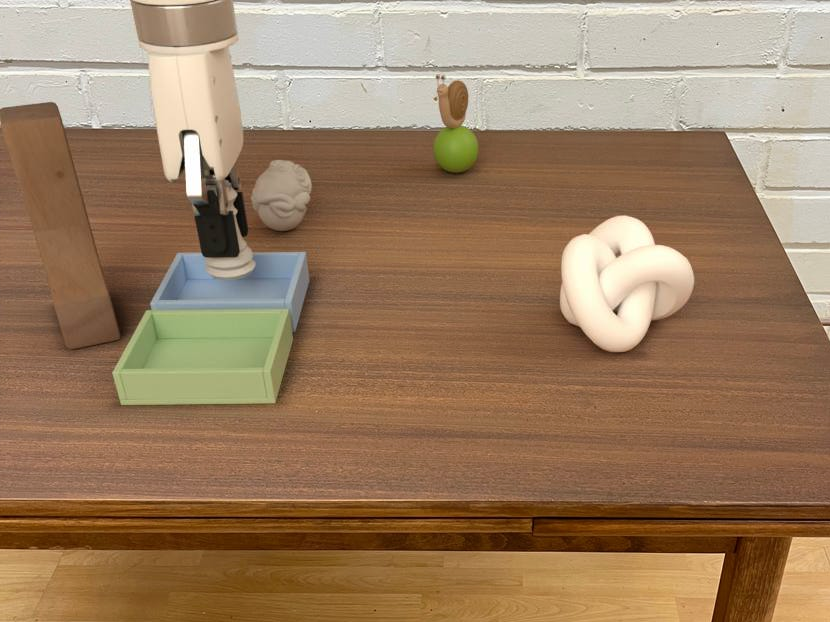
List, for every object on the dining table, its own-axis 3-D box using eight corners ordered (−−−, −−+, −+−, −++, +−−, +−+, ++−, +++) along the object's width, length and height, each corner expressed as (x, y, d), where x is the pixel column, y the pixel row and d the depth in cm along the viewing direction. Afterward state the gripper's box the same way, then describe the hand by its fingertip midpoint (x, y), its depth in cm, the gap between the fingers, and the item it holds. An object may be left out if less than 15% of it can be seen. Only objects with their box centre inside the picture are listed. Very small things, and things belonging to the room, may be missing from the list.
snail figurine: (422, 178, 114) (417, 72, 106) (446, 161, 118) (443, 58, 111) (462, 185, 112) (461, 78, 104) (486, 167, 116) (486, 63, 109)
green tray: (120, 405, 75) (111, 372, 73) (153, 340, 83) (146, 309, 81) (275, 403, 75) (270, 371, 74) (293, 339, 83) (289, 308, 82)
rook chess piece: (266, 270, 86) (253, 184, 81) (225, 287, 84) (208, 198, 79) (237, 256, 89) (222, 171, 84) (196, 271, 86) (178, 185, 81)
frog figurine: (328, 222, 103) (321, 158, 99) (286, 246, 99) (277, 180, 94) (285, 211, 106) (277, 148, 101) (242, 233, 101) (231, 168, 97)
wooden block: (121, 341, 83) (66, 132, 72) (67, 351, 82) (2, 140, 71) (108, 297, 90) (55, 99, 79) (58, 306, 88) (-3, 106, 77)
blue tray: (157, 333, 84) (149, 303, 82) (183, 281, 92) (177, 252, 90) (295, 332, 84) (291, 301, 83) (309, 280, 92) (306, 251, 91)
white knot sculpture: (520, 311, 87) (523, 217, 82) (633, 286, 91) (642, 195, 86) (580, 370, 79) (588, 270, 74) (701, 340, 83) (717, 243, 78)
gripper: (163, -1, 80) (203, 209, 91) (105, 50, 67) (160, 289, 78) (253, -2, 80) (282, 209, 91) (212, 49, 67) (252, 288, 78)
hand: (226, 243), depth 85 cm, fingers closed on rook chess piece, 3 cm apart
